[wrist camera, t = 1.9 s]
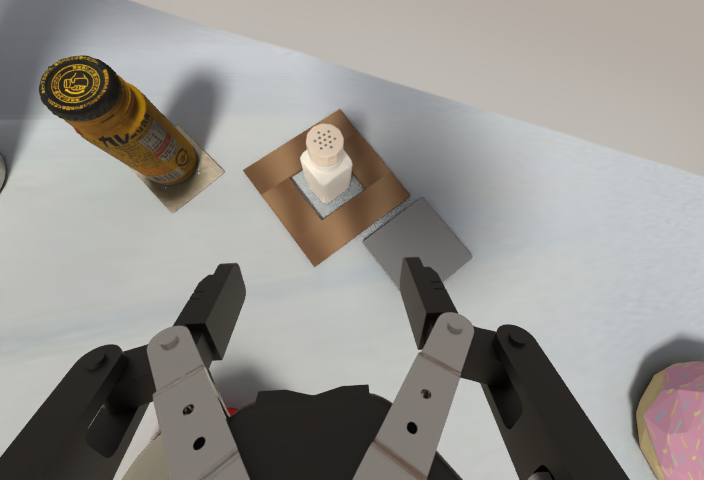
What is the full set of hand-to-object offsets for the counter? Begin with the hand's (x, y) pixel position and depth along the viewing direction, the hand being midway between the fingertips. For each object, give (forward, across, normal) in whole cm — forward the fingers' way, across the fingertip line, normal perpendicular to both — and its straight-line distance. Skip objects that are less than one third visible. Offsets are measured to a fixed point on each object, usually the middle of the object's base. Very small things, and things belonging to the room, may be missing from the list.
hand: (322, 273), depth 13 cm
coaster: (+14, -10, +9) cm, 20 cm away
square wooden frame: (+20, 0, +3) cm, 20 cm away
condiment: (+22, +18, +2) cm, 28 cm away
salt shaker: (+20, 0, +3) cm, 20 cm away
